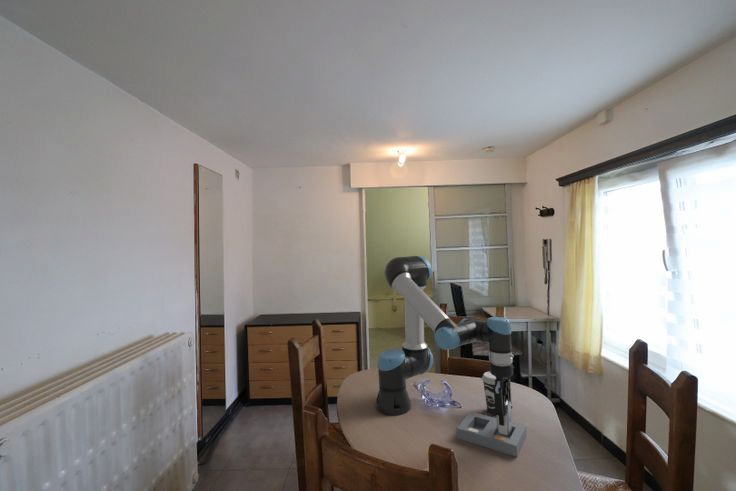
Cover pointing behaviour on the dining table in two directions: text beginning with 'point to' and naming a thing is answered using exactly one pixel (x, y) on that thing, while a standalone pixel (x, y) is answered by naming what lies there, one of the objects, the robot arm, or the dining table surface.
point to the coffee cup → (489, 391)
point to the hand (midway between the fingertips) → (504, 430)
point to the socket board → (491, 434)
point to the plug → (508, 415)
